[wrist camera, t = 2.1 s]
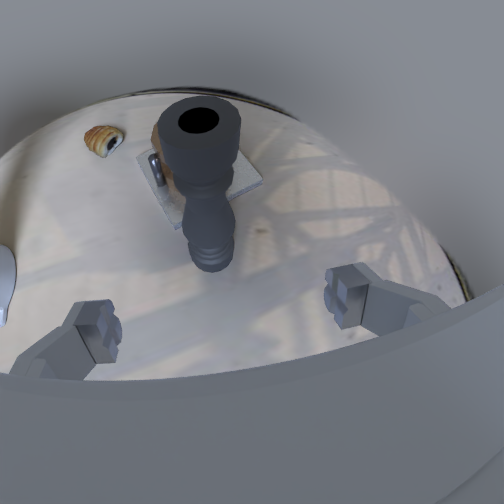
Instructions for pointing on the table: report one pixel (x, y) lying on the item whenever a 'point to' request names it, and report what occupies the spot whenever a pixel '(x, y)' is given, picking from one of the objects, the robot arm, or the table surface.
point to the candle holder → (203, 173)
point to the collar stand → (168, 193)
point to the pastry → (103, 140)
